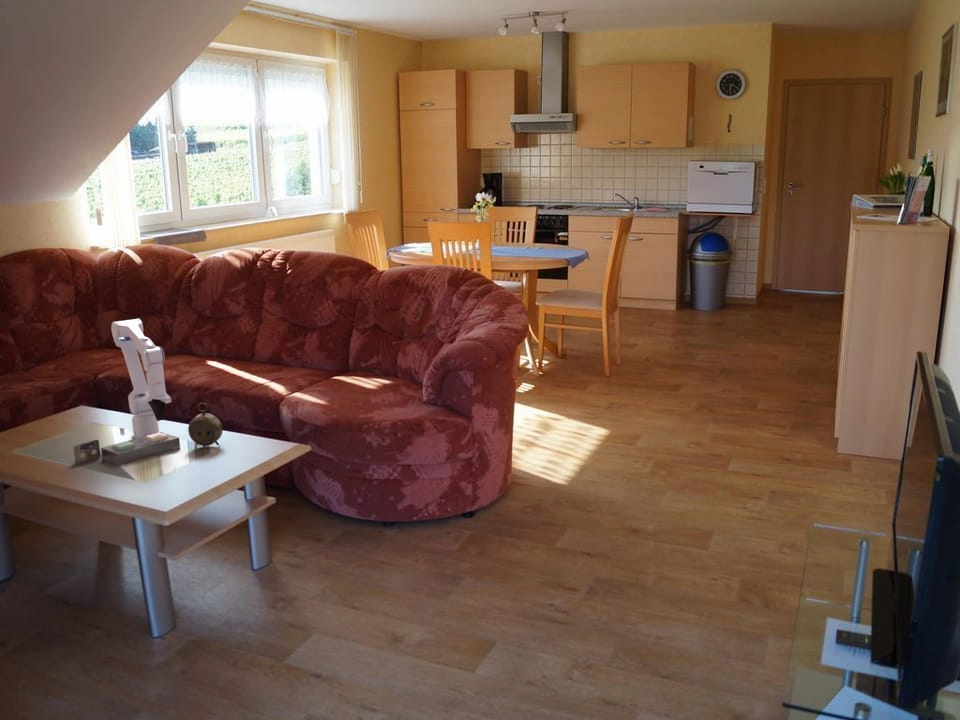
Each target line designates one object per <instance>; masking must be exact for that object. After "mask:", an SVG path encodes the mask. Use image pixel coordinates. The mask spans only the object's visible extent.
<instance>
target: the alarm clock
mask: <svg viewBox="0 0 960 720" xmlns="http://www.w3.org/2000/svg"><path fill="white" fill-rule="evenodd" d="M201 405H205V406H206V409H205V410H204V409H203V410H202V409H200V408H199V407H200V406H201ZM197 410H198V411H200V412H201V413H199V414H197V415H196V416H195V417H194V418H193V419H191V421H190V422H189V424H188V428H187V429H188V430H187V431H188V435H189V438H190V439H191V440H192V441H193V443H195V445H194V447H195V448H196V447H197V446H198V445H199V446H202V449H203V450H206V447H208V446H212V445H213V444H216V445H217V446H218V445H220V443H219V442H218V440H219V439H220V438H221V437H222V435H223V424H222V422H221V421H220V419H219V418H218V416H216V415H214V414H212V413H209V412H206V411H207V410H208V405H207V403H205V402H200V403H198V405H197Z"/></svg>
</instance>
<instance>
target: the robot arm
mask: <svg viewBox="0 0 960 720" xmlns="http://www.w3.org/2000/svg"><path fill="white" fill-rule="evenodd" d="M111 335H112V338H113V342H114V343H115V346H116V347H118V348H120V349H121V352H122V354H123V357H124V361H125V365H126V368H127V371H128V374H129V375H128V376H129V377H130V380H131V381H130V382H131V384H132V388H133V390H132V391H131V392H130V393H129V394H128V397H127V399H128V406H129V411H130V413H131V414H132V415H133V416H132V418H131V422H132V431H133V435H131V438H134V439H137V438H141V437H144V436H148V435H152V434H156V433H160V429H159V422H161V421H163V420H164V419H165V415H166V409H167V406H168V404H169V403H172V397H171V396H170V395H169V394H168V393H167V391H166V383H165V382H166V381H165V373H164V372H165V371H164V363H165V361H166V359H165V351H164V349H163V348H162V347H161V346H157V345H155V344H154V342H153V341H152V339H151V338H149V337H147V336H145V334H144V325H143V321H142V320H141V319H140V318H135V319H134V318H133V319H125V320H118V321H115V320H114V321H112V323H111ZM139 355H140V356H139ZM140 357H141V361H142V363H141V361H140ZM142 365H143V366H142ZM143 369H144V370H143ZM144 371H145V372H144ZM144 373H145V374H144Z"/></svg>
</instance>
